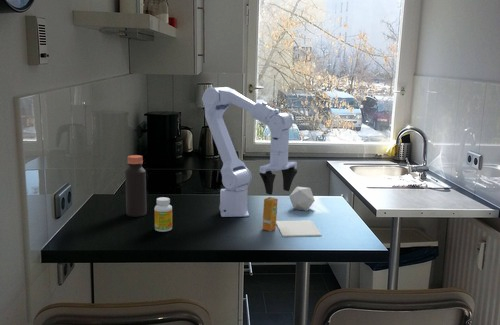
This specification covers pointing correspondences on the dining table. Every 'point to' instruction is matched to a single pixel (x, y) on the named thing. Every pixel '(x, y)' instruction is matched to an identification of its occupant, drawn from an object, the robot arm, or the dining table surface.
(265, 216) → the supplement box
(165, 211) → the supplement bottle
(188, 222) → the dining table surface
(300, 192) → the die
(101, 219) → the dining table surface
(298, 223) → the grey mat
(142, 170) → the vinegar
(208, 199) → the dining table surface
